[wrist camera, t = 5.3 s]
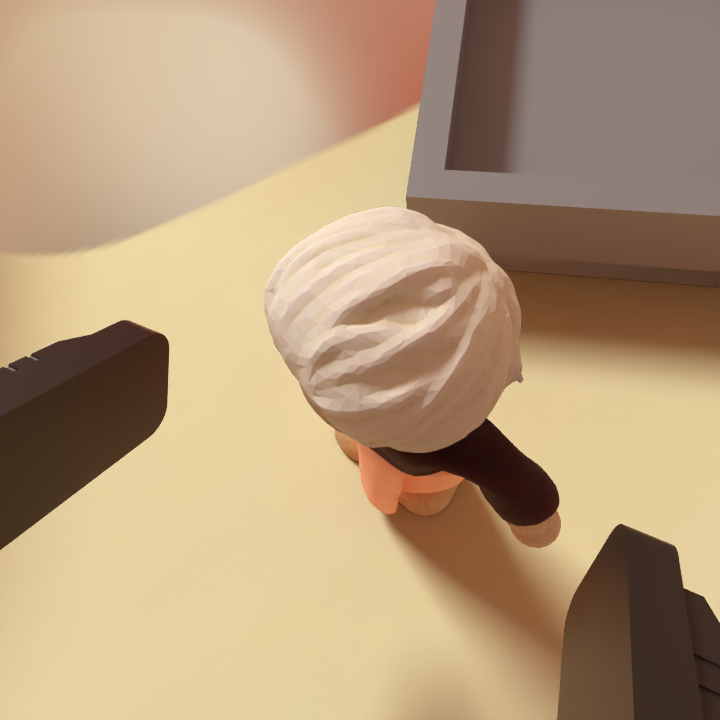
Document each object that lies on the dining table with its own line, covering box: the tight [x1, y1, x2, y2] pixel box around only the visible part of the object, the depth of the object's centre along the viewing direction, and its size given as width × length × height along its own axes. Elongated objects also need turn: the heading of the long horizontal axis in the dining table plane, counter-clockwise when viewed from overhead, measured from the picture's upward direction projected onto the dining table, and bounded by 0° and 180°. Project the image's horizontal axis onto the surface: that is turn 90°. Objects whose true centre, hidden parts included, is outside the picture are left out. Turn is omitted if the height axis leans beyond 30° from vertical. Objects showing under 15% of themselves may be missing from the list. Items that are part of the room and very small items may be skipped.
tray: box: [406, 0, 720, 287], centre depth 19 cm, size 14×16×4 cm
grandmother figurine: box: [264, 207, 561, 548], centre depth 12 cm, size 8×4×13 cm, turn 57°
